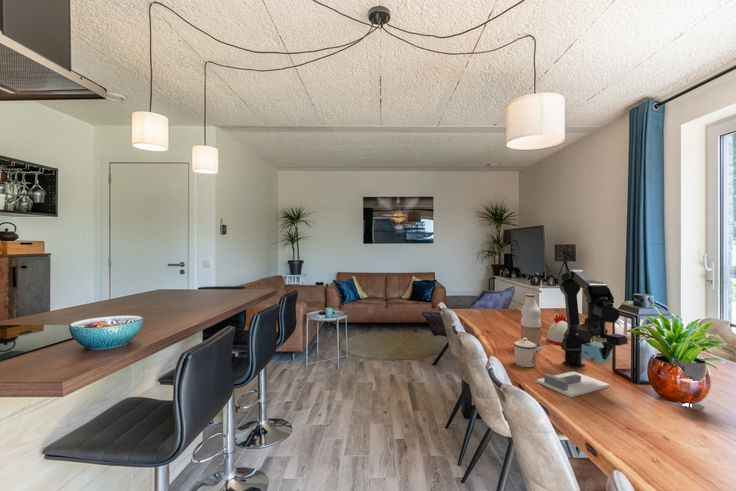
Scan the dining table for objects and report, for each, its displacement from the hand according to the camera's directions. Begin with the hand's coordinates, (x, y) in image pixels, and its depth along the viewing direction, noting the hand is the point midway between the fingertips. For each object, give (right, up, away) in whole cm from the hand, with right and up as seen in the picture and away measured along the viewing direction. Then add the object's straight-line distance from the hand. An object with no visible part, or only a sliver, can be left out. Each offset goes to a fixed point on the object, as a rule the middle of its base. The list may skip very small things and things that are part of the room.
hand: (596, 356), depth 125 cm
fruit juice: (-3, -11, +43) cm, 45 cm away
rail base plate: (-9, -11, 0) cm, 14 cm away
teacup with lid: (-16, -11, +23) cm, 30 cm away
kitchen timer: (+19, -11, +55) cm, 59 cm away
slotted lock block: (0, -1, 0) cm, 1 cm away
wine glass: (+20, -11, -16) cm, 28 cm away
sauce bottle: (+23, -11, +30) cm, 39 cm away
